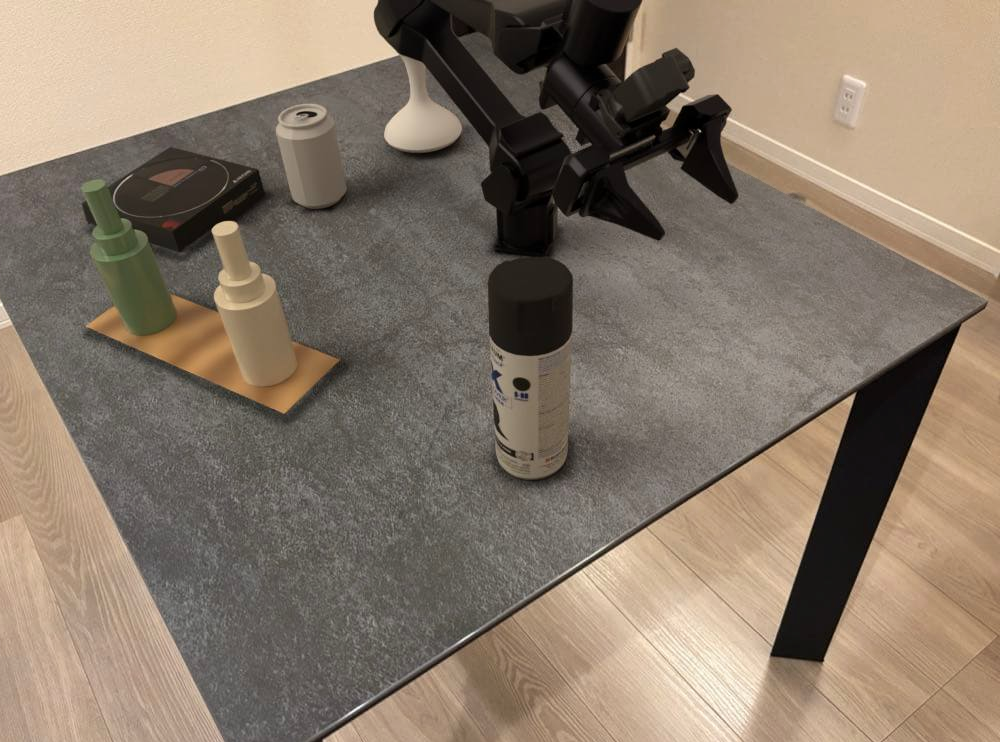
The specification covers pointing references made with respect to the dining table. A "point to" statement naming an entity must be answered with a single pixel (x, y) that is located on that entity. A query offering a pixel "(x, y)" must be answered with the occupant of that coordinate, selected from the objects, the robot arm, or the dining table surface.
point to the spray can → (531, 364)
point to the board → (216, 353)
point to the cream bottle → (251, 313)
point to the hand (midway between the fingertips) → (699, 218)
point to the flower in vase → (421, 118)
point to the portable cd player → (183, 196)
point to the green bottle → (128, 266)
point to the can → (311, 155)
